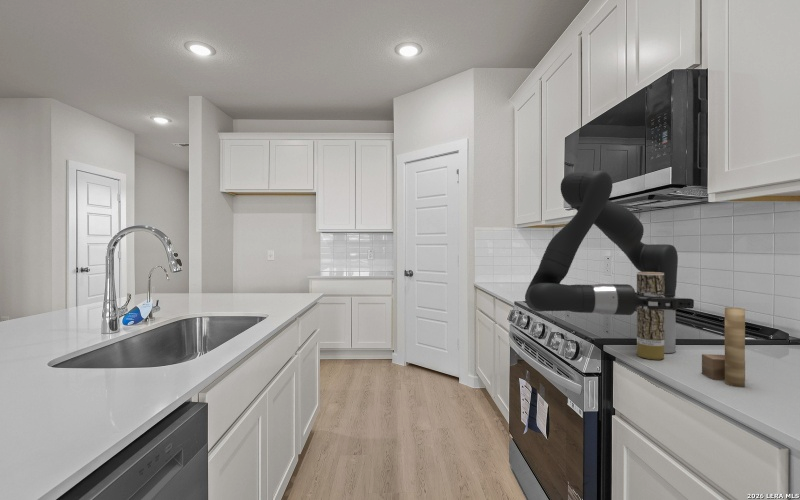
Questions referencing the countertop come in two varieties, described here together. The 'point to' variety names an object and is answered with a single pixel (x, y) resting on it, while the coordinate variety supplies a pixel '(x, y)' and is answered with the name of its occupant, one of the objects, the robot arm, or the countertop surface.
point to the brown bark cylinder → (650, 318)
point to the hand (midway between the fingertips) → (682, 301)
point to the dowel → (735, 346)
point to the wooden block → (713, 366)
